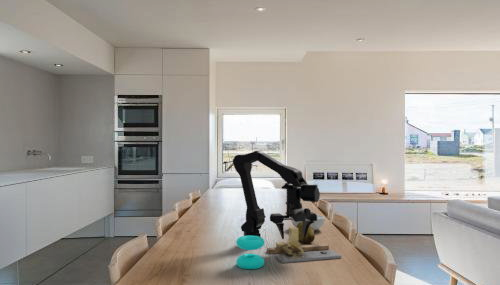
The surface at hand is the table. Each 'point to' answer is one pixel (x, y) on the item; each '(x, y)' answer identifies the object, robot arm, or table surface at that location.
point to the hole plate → (307, 256)
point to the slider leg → (294, 239)
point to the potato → (309, 235)
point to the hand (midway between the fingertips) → (293, 238)
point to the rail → (283, 248)
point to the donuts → (250, 259)
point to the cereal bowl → (314, 225)
